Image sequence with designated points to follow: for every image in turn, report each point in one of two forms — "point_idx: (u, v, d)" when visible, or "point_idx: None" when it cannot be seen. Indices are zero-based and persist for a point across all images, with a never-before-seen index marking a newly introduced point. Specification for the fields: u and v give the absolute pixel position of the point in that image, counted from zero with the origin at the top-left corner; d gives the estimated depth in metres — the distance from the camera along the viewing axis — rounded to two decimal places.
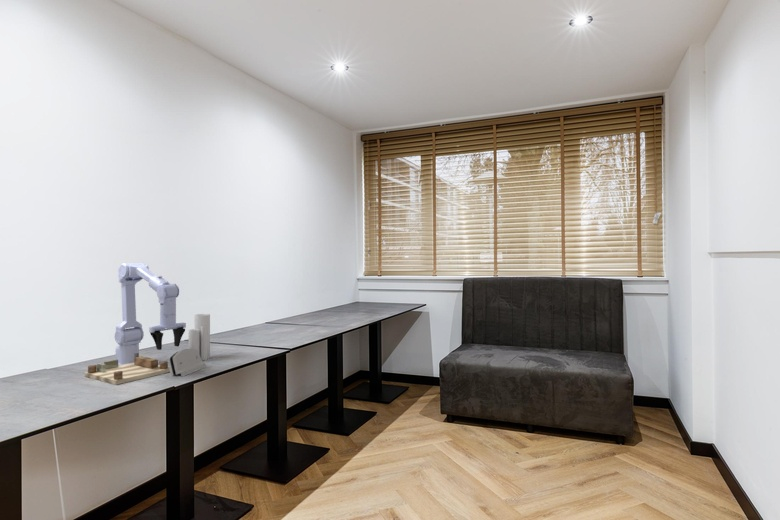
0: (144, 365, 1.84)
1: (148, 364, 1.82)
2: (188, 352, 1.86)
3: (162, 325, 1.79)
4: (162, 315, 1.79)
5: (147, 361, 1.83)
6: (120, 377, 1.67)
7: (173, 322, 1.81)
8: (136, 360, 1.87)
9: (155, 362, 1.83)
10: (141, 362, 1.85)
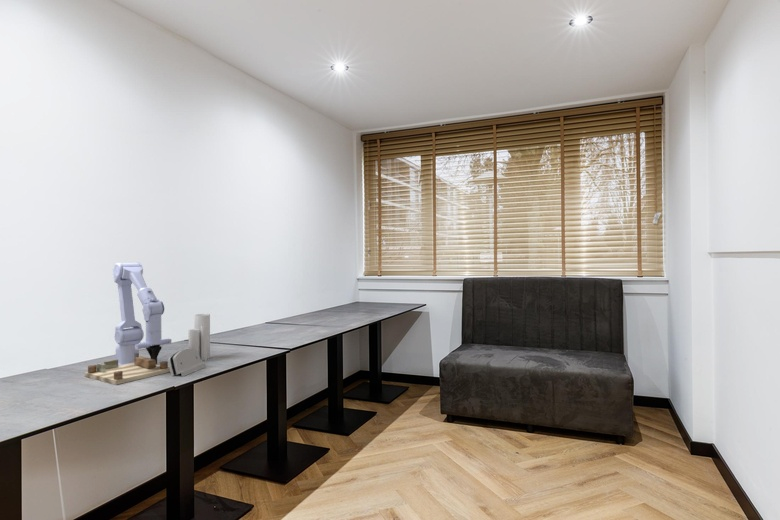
0: (143, 365, 1.84)
1: (146, 365, 1.82)
2: (188, 352, 1.86)
3: (147, 342, 1.82)
4: (147, 332, 1.82)
5: (145, 361, 1.82)
6: (120, 377, 1.67)
7: (158, 338, 1.84)
8: (136, 360, 1.87)
9: (153, 362, 1.82)
10: (140, 362, 1.85)
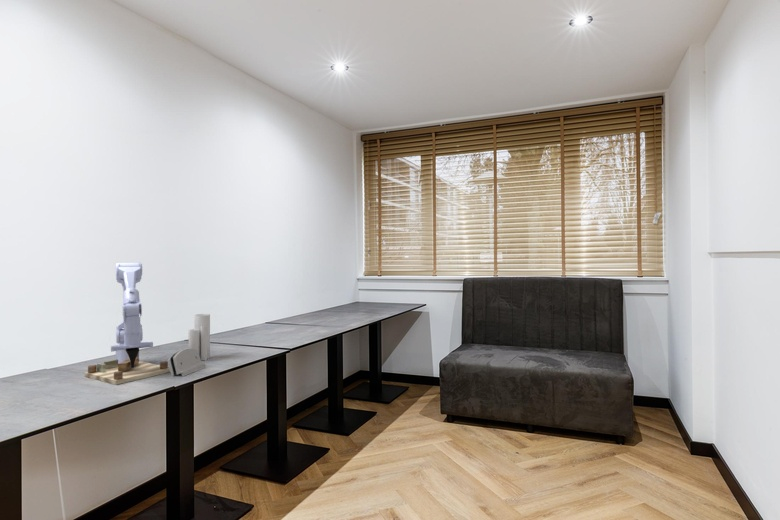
0: None
1: None
2: (188, 352, 1.86)
3: (124, 344, 1.77)
4: (124, 334, 1.78)
5: None
6: (120, 377, 1.67)
7: (134, 341, 1.78)
8: None
9: (123, 366, 1.77)
10: None
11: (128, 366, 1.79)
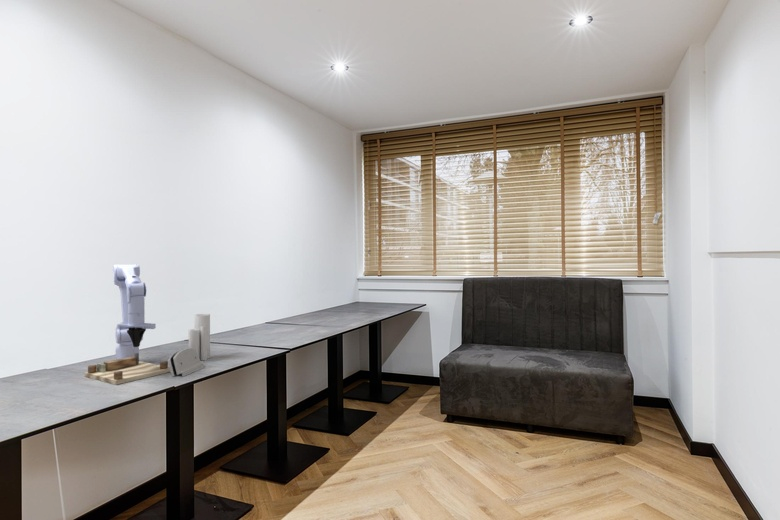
0: None
1: None
2: (187, 352, 1.86)
3: None
4: None
5: None
6: (120, 377, 1.67)
7: (133, 321, 1.79)
8: None
9: (106, 365, 1.78)
10: None
11: (114, 366, 1.80)
